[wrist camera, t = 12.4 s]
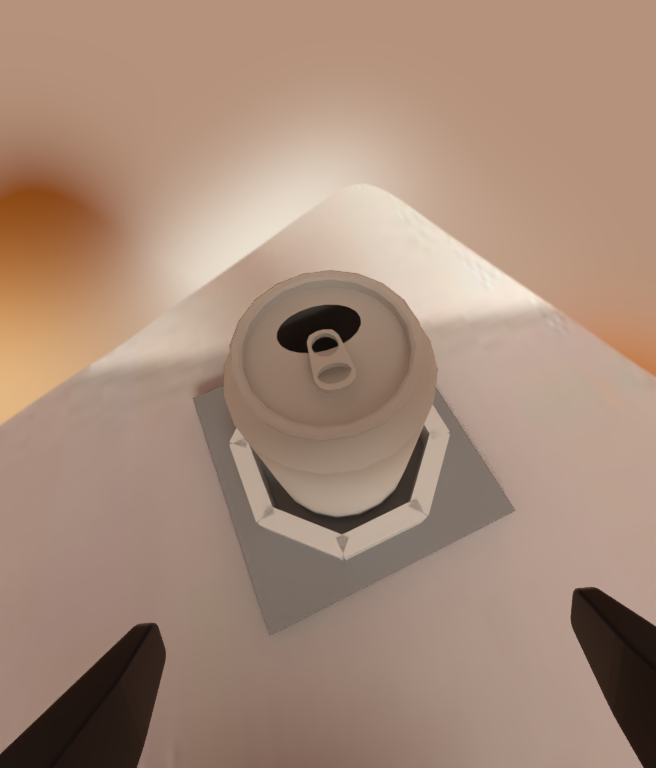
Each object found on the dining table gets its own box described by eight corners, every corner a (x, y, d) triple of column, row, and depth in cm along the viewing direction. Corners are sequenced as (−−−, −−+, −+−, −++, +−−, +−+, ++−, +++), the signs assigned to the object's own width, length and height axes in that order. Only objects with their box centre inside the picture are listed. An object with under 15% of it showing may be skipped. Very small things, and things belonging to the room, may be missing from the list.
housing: (273, 633, 20) (260, 640, 18) (198, 404, 26) (180, 384, 24) (509, 513, 22) (529, 503, 20) (388, 324, 28) (392, 297, 26)
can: (381, 380, 25) (399, 230, 14) (425, 498, 22) (490, 417, 11) (264, 412, 25) (193, 281, 14) (291, 537, 21) (225, 492, 11)
